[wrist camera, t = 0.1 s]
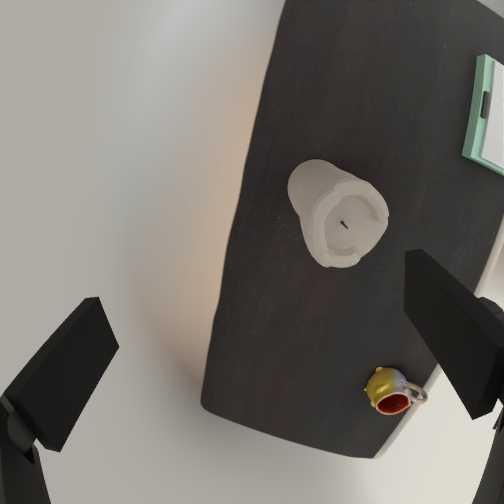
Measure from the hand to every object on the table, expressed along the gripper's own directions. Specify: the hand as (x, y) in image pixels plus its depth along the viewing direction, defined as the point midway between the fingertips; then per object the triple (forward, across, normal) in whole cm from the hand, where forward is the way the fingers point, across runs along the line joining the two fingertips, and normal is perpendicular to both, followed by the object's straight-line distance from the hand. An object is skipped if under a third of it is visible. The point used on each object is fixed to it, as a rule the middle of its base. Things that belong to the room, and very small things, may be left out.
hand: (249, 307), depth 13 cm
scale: (+28, +36, +7) cm, 47 cm away
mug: (+29, +18, -36) cm, 50 cm away
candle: (+29, +10, -3) cm, 31 cm away
